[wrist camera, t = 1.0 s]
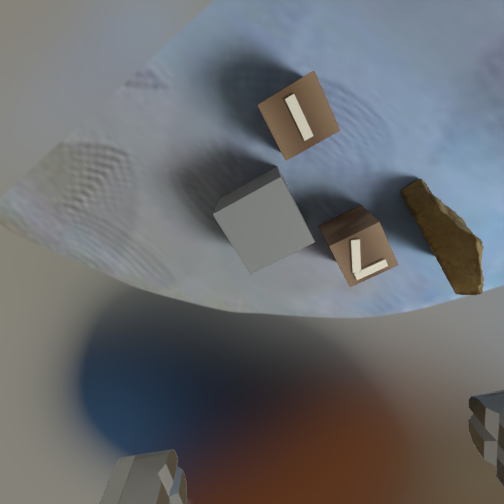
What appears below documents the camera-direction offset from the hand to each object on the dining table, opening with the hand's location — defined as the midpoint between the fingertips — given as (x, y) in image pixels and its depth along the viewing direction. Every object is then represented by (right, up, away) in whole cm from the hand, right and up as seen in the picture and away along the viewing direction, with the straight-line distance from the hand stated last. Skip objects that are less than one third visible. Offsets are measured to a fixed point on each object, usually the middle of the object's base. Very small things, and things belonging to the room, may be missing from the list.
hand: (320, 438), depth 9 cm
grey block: (-1, +10, +27) cm, 29 cm away
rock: (+18, +9, +28) cm, 34 cm away
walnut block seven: (+9, +7, +28) cm, 30 cm away
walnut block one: (+2, +18, +23) cm, 30 cm away
